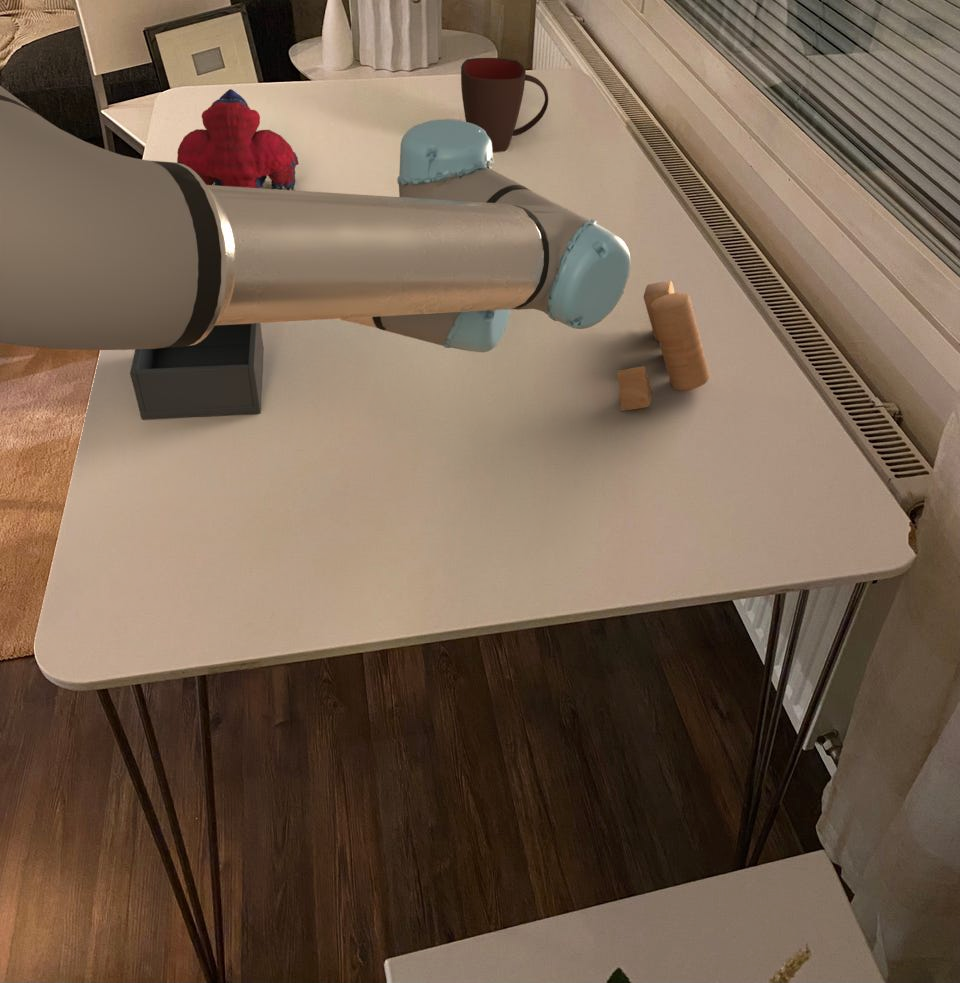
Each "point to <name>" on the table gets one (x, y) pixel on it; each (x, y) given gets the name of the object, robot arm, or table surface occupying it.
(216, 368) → the bin
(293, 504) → the table surface
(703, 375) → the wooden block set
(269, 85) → the table surface
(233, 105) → the figurine
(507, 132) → the cup
